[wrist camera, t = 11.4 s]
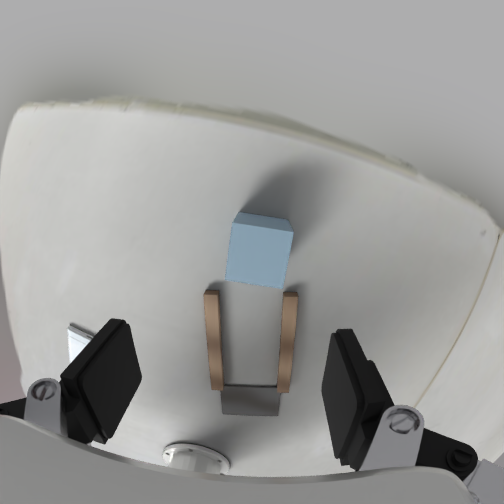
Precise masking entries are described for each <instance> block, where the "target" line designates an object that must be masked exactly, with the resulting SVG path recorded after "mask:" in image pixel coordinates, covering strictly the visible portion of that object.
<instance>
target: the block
mask: <svg viewBox="0 0 504 504" xmlns="http://www.w3.org/2000/svg"><path fill="white" fill-rule="evenodd" d="M293 234H294V232H293V230H292V227H291V225H290V223H289V221H288V220H286V219H280V218H274V217H268V216H262V215H255V214H249V213H242V212H239V213H238V214H237V216H236V218H235V219H234V221H233V222H232V229H231V236H230V244H229V251H228V259H227V267H226V274H225V280H228V281H234V282H241V283H247V284H253V285H260V286H266V287H273V288H280V289H283V285H284V280H285V275H286V270H287V265H288V260H289V255H290V250H291V244H292V239H293Z"/></svg>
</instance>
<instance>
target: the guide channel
mask: <svg viewBox="0 0 504 504" xmlns="http://www.w3.org/2000/svg"><path fill="white" fill-rule="evenodd" d="M297 305H298V294H297V292H283V307H282V323H281V339H280V353H279V367H278V379H277V387H269V386H238V385H224V375H223V359H222V342H221V323H220V301H219V291H216V290H206V291H205V293H204V309H205V322H206V335H207V347H208V358H209V368H210V378H211V388H212V390H221V401H222V412H223V414H231V415H250V416H278V410H279V401H280V393H289V386H290V377H291V368H292V359H293V349H294V339H295V328H296V317H297Z"/></svg>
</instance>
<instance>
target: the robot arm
mask: <svg viewBox="0 0 504 504" xmlns="http://www.w3.org/2000/svg"><path fill="white" fill-rule="evenodd" d="M60 377H61V381H60V382H58V381H56V380H55V379H52V378H43V379H40V380H37V381H35V382H34V383H33V384H32V385H31V386H30V387H29V390H28V393H27V398H23V399H19V400H15V401H11V402H7V403H2V404H0V504H504V468H502V467H500V466H498V465H496V464H494V463H491V462H489V461H487V460H485V459H483V460H482V461H479V460H478V457H477V453H476V452H475V450H474V449H473V448H472V447H471V446H469V445H467V444H465V443H462V442H460V441H457V440H454V439H451V438H449V437H446V436H443V435H441V434H438V433H436V432H433V431H430V430H428V429H425V428H424V419H423V416H422V414H421V413H420V412H419V411H418V410H416V409H415V408H413V407H410V406H407V405H394V403H393V401H392V399H391V397H390V395H389V392H388V390H387V388H386V386H385V384H384V382H383V380H382V378H381V376H380V374H379V372H378V370H377V368H376V365H375V363H374V362H373V361H372V360H368V361H367V359H366V356H365V354H364V352H363V350H362V348H361V346H360V344H359V342H358V340H357V338H356V336H355V334H354V332H353V330H352V329H337V331H336V333H332V334H331V339H330V344H329V350H328V356H327V361H326V367H325V372H324V377H323V382H322V396H323V401H324V406H325V411H326V415H327V420H328V425H329V430H330V435H331V440H332V445H333V451H334V456H335V458H336V459H338V458H340V462H341V466H344V465H350V467H351V468H352V469H354V470H355V471H354V472H348V473H340V474H330V475H317V476H300V477H247V476H231V475H226V474H227V473H228V472H229V467H230V465H229V462H228V460H227V459H226V458H225V457H224V456H222V455H221V454H219V453H218V452H216V451H214V450H211V449H209V448H206V447H203V446H198V445H193V444H173V445H170V446H168V447H166V448H165V449H164V451H163V454H162V458H163V460H164V462H165V463H166V464H167V465H168V467H165V466H160V465H156V464H151V463H147V462H143V461H138V460H135V459H131V458H127V457H123V456H120V455H116V454H113V453H110V452H107V451H103V450H100V449H97V448H94V447H92V446H91V442H92V441H93V440H94V441H96V442H99V443H102V444H106V442H107V440H108V438H109V439H110V438H112V437H113V435H114V433H115V431H116V429H117V427H118V425H119V423H120V421H121V419H122V417H123V415H124V413H125V411H126V409H127V408H128V406H129V404H130V402H131V400H132V398H133V396H134V394H135V392H136V390H137V389H138V387H139V385H140V383H141V380H142V375H141V371H140V367H139V363H138V359H137V355H136V351H135V347H134V342H133V338H132V333H131V329H130V326H129V324H127V323H126V321H125V320H121V319H113V318H112V319H110V320H109V321H108V322H107V323H106V324H105V325H104V327H103V328H102V329H101V330H100V331H99V332H98V333H97V334H96V335H95V336H94V337H93V339H92V340H91V341H90V342H89V343H88V344H87V345H86V346H85V347H84V349H83V350H82V351H81V352H80V353H79V354H78V355H77V356H76V358H75V359H74V360H73V361H72V362H71V363H70V365H69V366H68V367H67V368H66V369H65V370H64V371H63V373H62V374H61V375H60Z"/></svg>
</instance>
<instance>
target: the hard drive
mask: <svg viewBox="0 0 504 504" xmlns="http://www.w3.org/2000/svg"><path fill="white" fill-rule="evenodd" d="M67 331H68V345H69V357H70V363H71V362H72V361H73V360H74V359H75V358H76V356H77V355H78V354H79V353H80V352H81V351H82V350H83V349H84V347H85V346H86V345H87V344H88V343H89V342H90V341H91V340H92V339H93V336H91V335H89V334H87V333H84V332H82V331H80V330H78V329H76V328H74V327H72V326H69V327H68V328H67Z"/></svg>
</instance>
